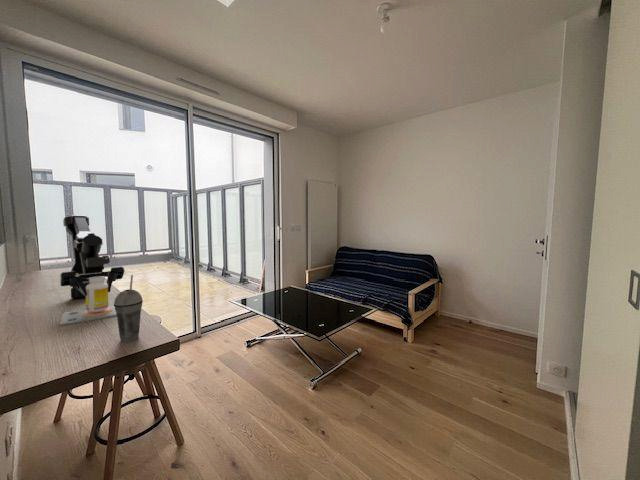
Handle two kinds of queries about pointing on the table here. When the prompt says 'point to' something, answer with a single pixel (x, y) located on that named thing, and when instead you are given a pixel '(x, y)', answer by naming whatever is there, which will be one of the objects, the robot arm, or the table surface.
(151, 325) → the table surface
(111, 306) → the plate
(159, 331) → the table surface
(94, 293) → the supplement bottle
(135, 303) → the beverage cup
